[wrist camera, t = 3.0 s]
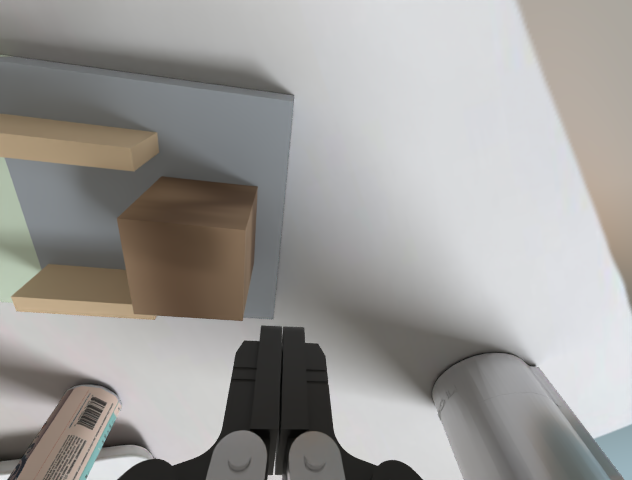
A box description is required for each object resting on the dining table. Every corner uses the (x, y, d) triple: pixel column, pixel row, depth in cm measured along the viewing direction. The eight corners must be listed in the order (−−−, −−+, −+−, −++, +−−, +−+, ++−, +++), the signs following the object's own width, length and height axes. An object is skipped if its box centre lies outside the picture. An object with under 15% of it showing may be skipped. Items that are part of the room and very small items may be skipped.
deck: (294, 95, 18) (293, 111, 13) (275, 295, 25) (270, 354, 20) (-246, 20, 15) (-492, 7, 11) (-101, 269, 22) (-210, 329, 17)
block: (257, 186, 18) (245, 230, 14) (253, 263, 20) (242, 320, 16) (161, 176, 17) (116, 218, 13) (169, 256, 20) (133, 314, 15)
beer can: (57, 381, 28) (-82, 574, 18) (114, 377, 28) (8, 566, 18) (79, 415, 31) (-32, 602, 20) (131, 411, 31) (47, 595, 20)
